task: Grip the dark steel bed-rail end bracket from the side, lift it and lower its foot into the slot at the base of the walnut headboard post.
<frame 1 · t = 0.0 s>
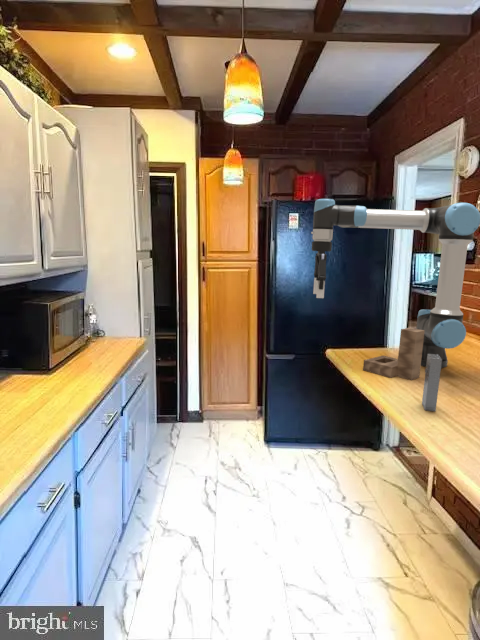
hand: (318, 296, 172), 28 cm above the counter, tool pointing down, fingers open, 13 cm apart
bracket: (428, 407, 134), on the counter
headboard post: (383, 370, 173), on the counter
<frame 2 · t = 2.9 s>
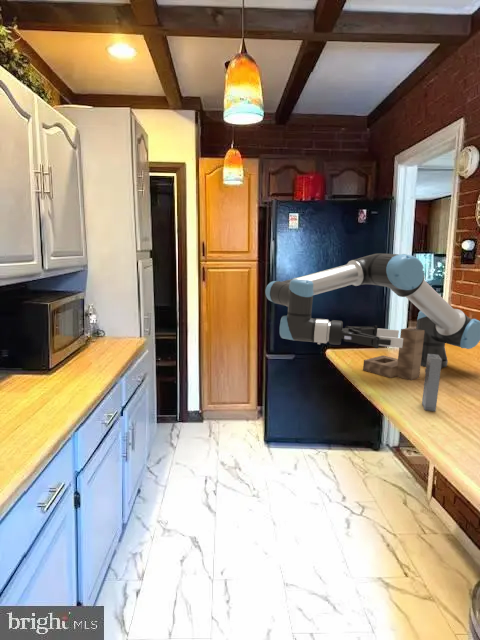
hand: (400, 338, 133), 20 cm above the counter, tool horizontal, fingers open, 13 cm apart
nothing on the counter moved.
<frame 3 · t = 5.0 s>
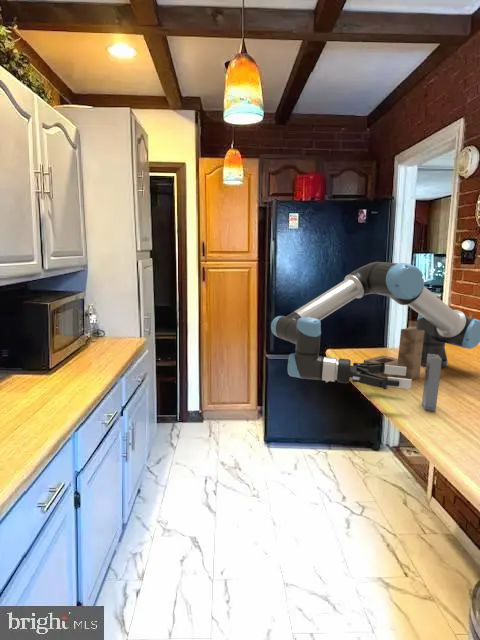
hand: (408, 377, 134), 9 cm above the counter, tool horizontal, fingers open, 13 cm apart
nothing on the counter moved.
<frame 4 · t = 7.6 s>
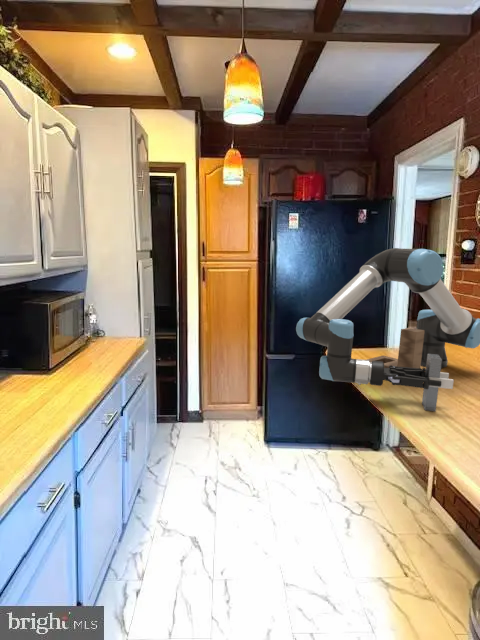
hand: (450, 380, 131), 9 cm above the counter, tool horizontal, fingers closed on bracket, 6 cm apart
bracket: (428, 407, 134), on the counter, touching gripper
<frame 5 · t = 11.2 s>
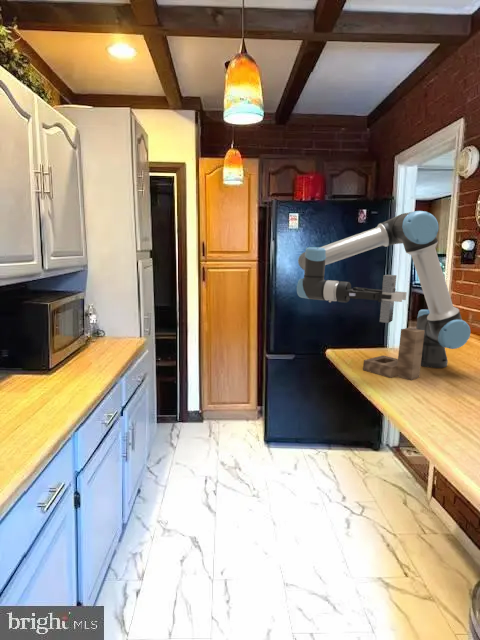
hand: (403, 296, 150), 31 cm above the counter, tool horizontal, fingers closed on bracket, 6 cm apart
bracket: (386, 321, 154), point 22 cm above the counter, touching gripper
when the fingers open (10 cm above the counter, at t = 15.3 s): bracket drops 1 cm, resting in headboard post.
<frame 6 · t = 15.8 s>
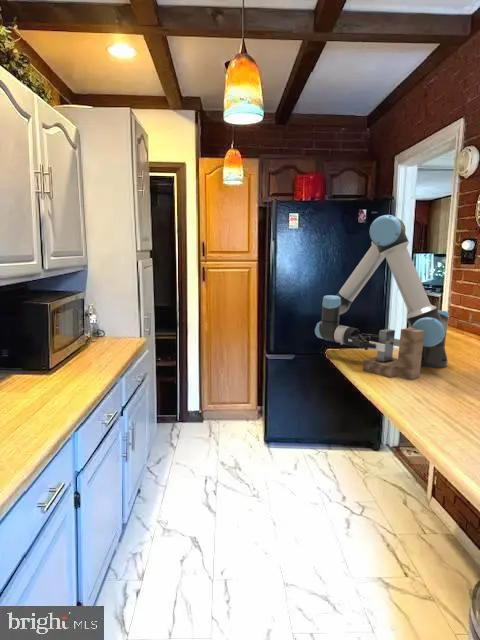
hand: (394, 346, 168), 10 cm above the counter, tool horizontal, fingers open, 13 cm apart
bracket: (383, 370, 173), resting in headboard post
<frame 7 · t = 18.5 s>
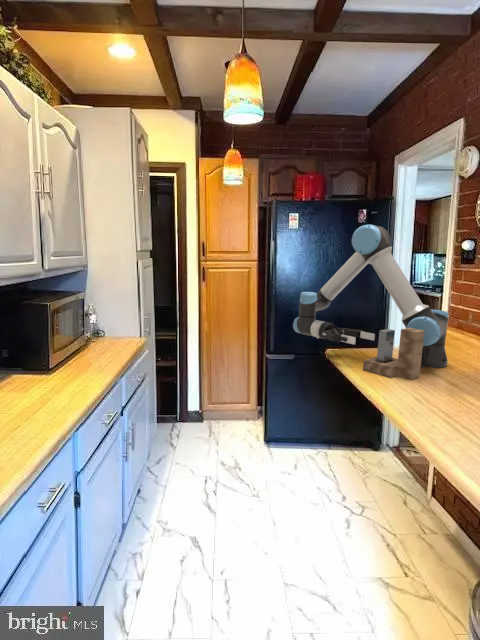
hand: (365, 339, 178), 11 cm above the counter, tool horizontal, fingers open, 13 cm apart
nothing on the counter moved.
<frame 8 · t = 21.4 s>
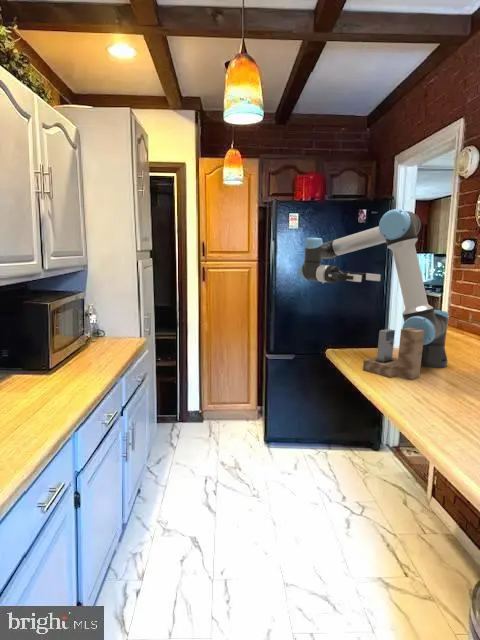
hand: (370, 278, 178), 35 cm above the counter, tool horizontal, fingers open, 13 cm apart
nothing on the counter moved.
at the end: bracket 0.3 cm off-centre on the headboard post, point 0.0 cm above the headboard post's base; bracket tilted 0°; the gripper is holding nothing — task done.
